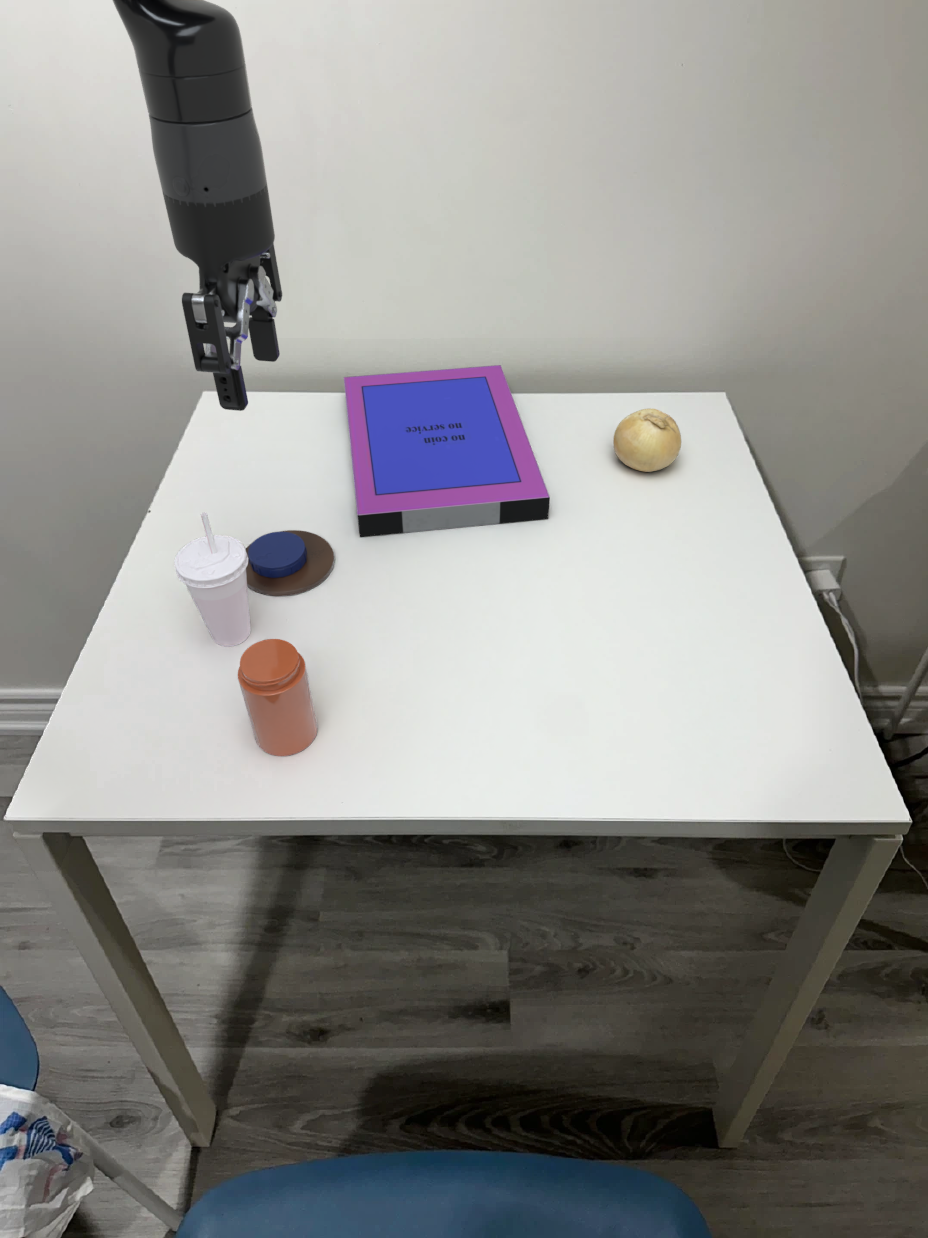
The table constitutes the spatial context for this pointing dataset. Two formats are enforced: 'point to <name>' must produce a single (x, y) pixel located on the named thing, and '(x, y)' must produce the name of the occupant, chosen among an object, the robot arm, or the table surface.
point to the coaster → (303, 579)
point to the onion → (647, 440)
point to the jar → (277, 697)
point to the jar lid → (277, 554)
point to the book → (440, 452)
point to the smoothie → (217, 583)
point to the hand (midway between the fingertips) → (251, 382)
